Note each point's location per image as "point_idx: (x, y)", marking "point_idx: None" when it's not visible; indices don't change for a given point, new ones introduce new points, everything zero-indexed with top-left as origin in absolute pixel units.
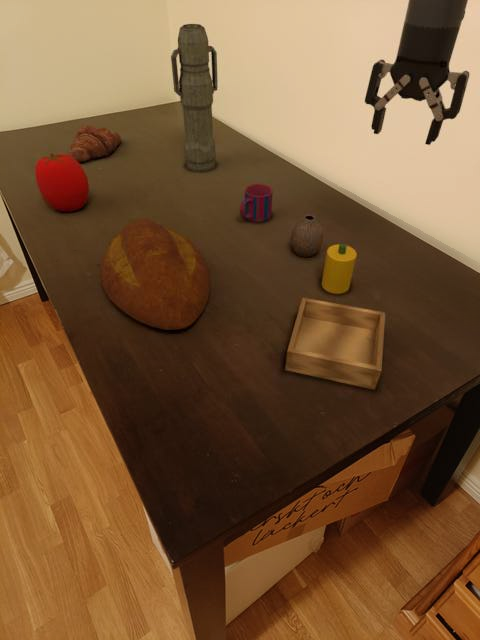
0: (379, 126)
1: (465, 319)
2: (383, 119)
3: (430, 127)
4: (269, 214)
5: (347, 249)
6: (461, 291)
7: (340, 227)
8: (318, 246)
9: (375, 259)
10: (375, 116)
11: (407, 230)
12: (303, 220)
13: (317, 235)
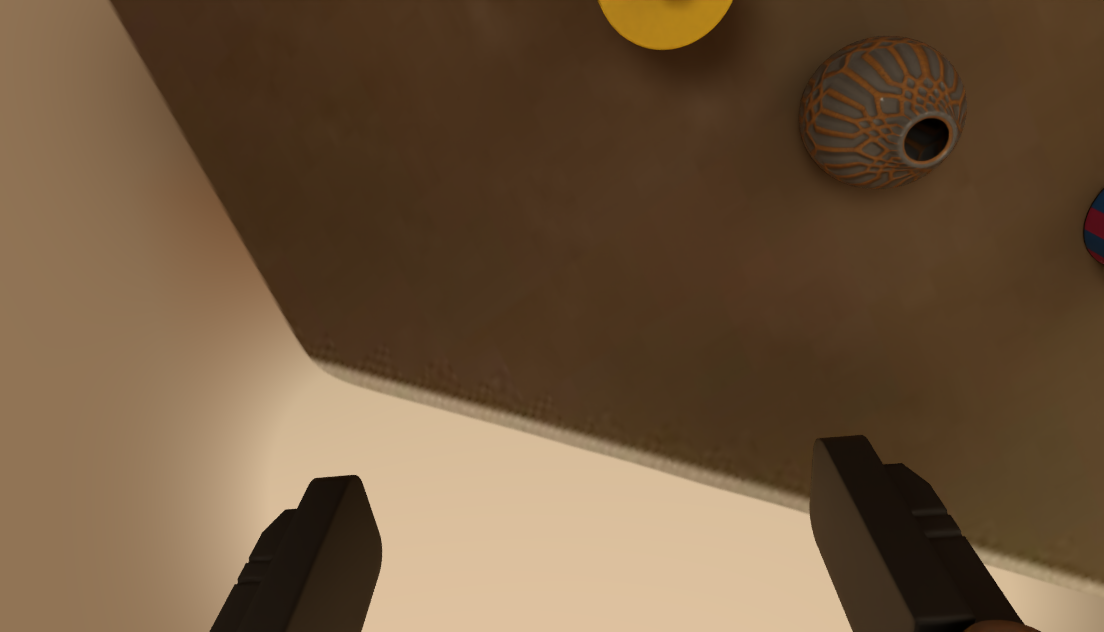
0: (841, 494)
1: (191, 96)
2: (848, 605)
3: (293, 593)
4: (1101, 225)
5: (655, 19)
6: (279, 232)
7: (784, 330)
8: (807, 97)
9: (589, 225)
10: (958, 569)
11: (571, 437)
12: (947, 108)
13: (837, 104)
